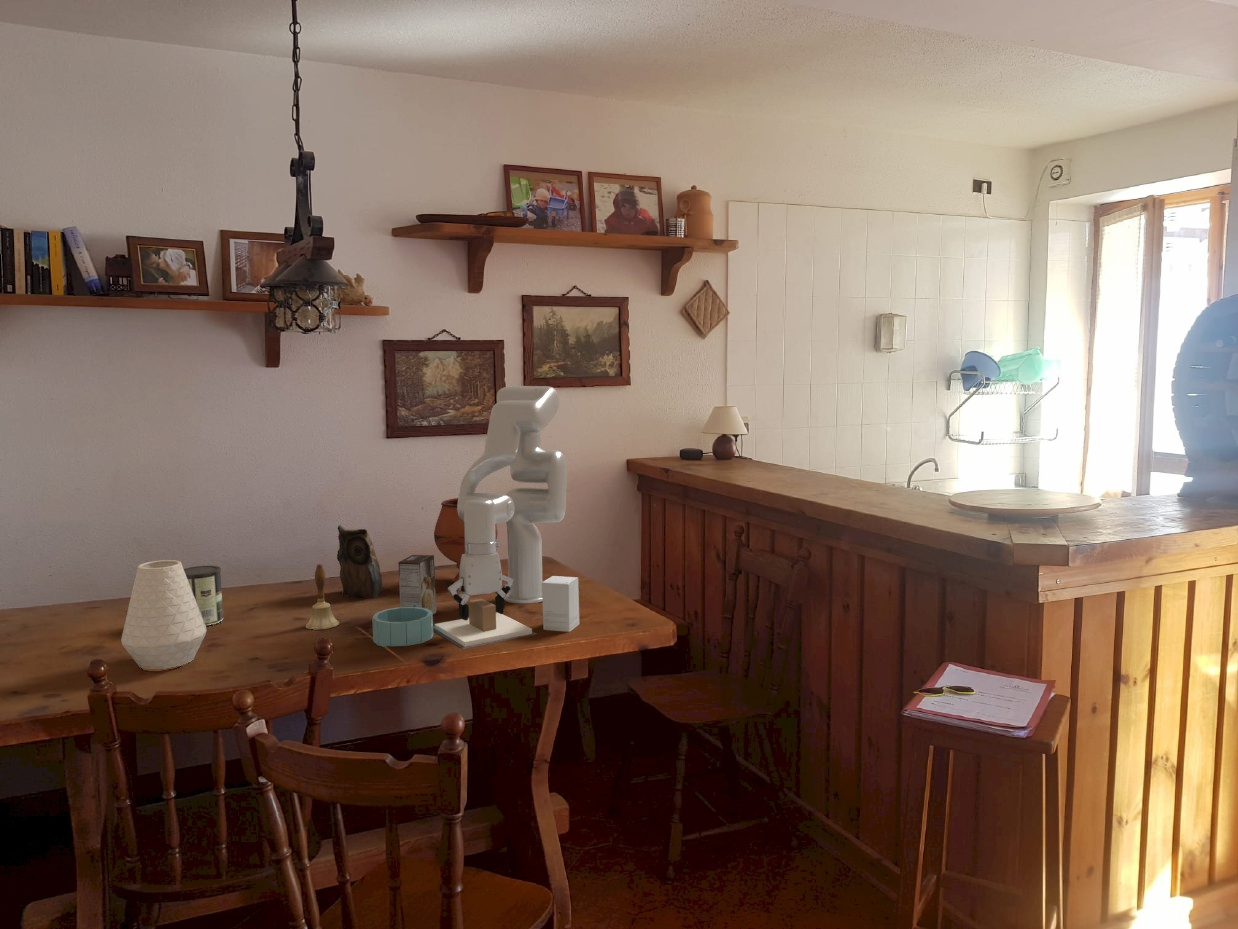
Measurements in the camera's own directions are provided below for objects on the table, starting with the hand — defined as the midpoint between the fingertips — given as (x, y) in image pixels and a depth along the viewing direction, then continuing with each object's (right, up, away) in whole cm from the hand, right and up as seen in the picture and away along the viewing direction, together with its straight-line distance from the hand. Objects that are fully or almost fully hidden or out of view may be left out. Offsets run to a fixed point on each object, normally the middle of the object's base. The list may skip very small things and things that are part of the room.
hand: (482, 616), depth 234 cm
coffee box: (-19, -3, +15) cm, 24 cm away
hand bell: (-42, -4, +8) cm, 43 cm away
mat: (0, -4, +1) cm, 4 cm away
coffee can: (-75, -4, +12) cm, 76 cm away
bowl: (-19, -5, -3) cm, 20 cm away
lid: (0, -4, +1) cm, 4 cm away
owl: (-40, 0, +40) cm, 56 cm away
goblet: (-12, +2, +53) cm, 54 cm away
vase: (-69, -8, -20) cm, 72 cm away
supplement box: (+19, -4, +4) cm, 20 cm away
